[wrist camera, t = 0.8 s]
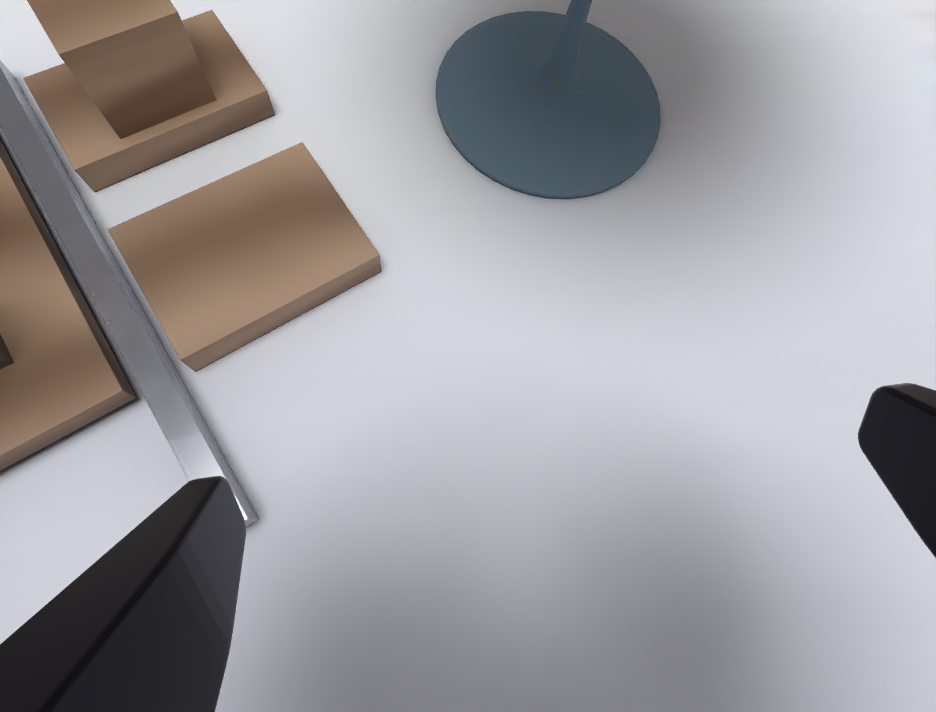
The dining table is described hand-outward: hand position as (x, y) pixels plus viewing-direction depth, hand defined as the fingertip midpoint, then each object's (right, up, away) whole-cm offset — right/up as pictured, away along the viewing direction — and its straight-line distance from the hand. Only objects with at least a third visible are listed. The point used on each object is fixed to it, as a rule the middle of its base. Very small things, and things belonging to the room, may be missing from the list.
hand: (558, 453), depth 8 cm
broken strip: (-12, +8, +15) cm, 21 cm away
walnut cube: (-14, +12, +15) cm, 24 cm away
